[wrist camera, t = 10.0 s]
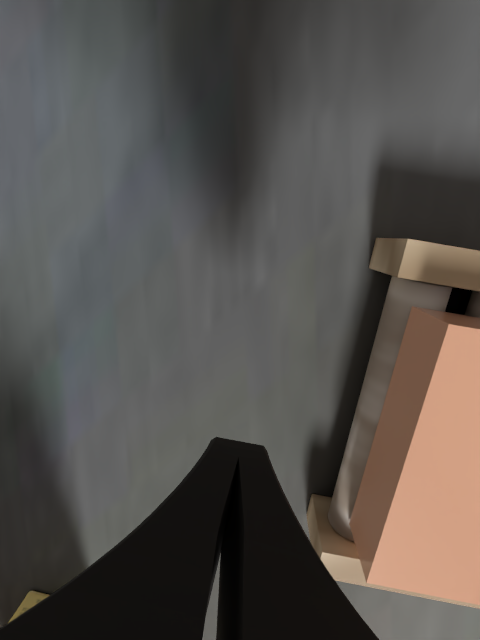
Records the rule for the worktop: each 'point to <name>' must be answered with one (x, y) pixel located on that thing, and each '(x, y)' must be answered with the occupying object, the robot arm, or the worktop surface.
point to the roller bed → (387, 385)
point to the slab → (426, 465)
